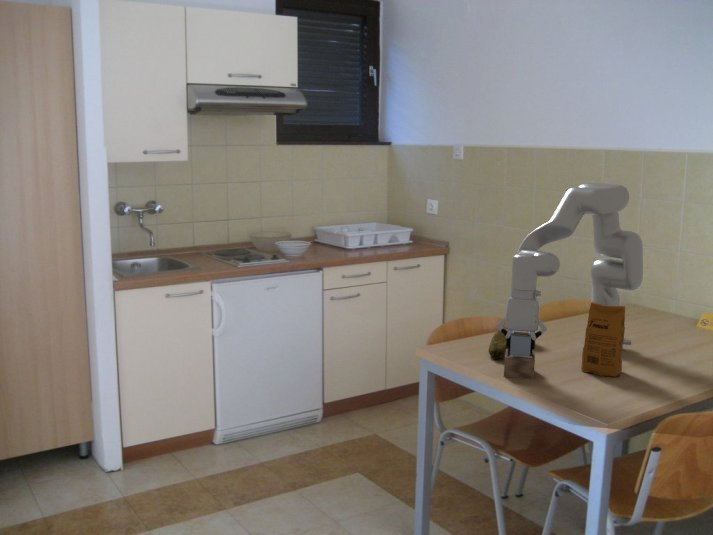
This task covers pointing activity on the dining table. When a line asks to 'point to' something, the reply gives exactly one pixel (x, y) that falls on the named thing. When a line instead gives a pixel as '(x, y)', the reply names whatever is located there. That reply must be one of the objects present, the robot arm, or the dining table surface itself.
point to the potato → (498, 345)
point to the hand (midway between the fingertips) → (520, 350)
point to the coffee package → (604, 340)
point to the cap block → (520, 343)
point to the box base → (519, 365)
